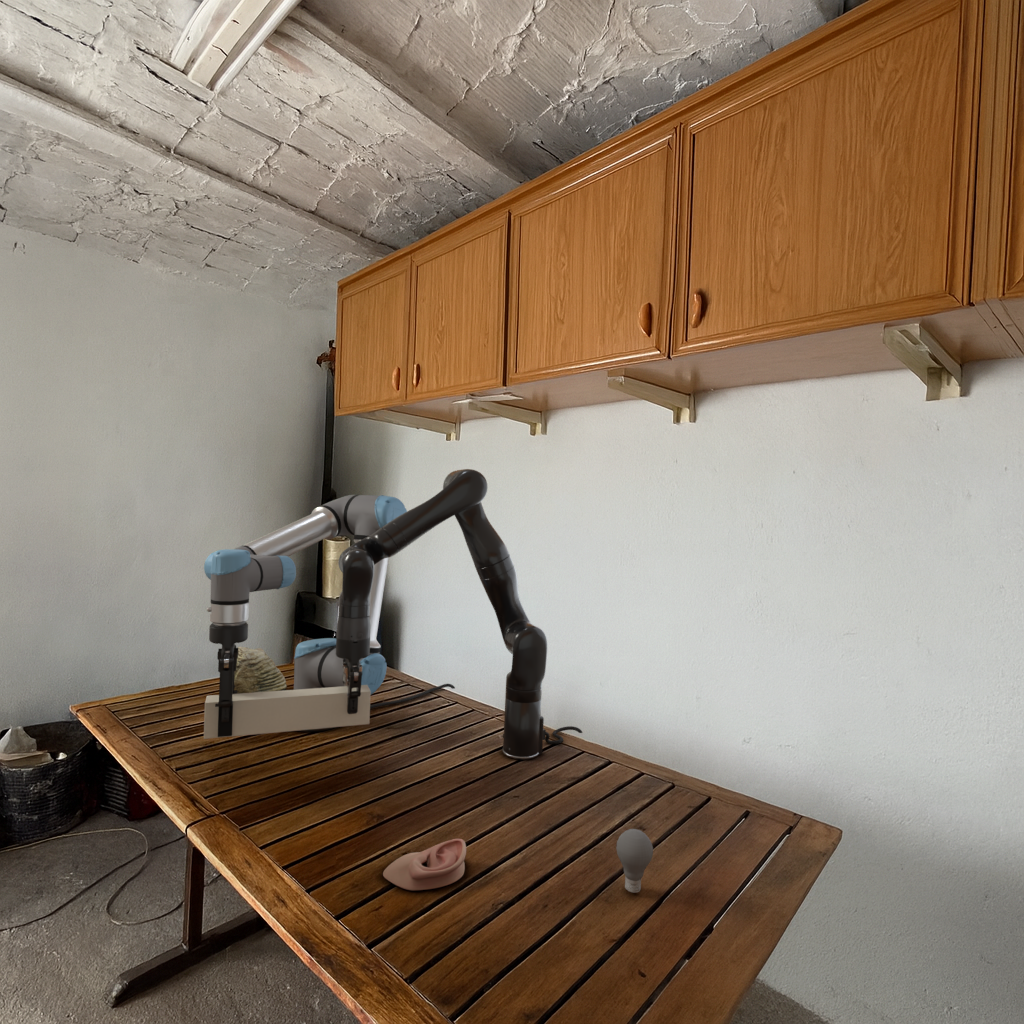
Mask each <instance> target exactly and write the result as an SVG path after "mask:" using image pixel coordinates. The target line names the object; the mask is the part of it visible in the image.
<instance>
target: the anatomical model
mask: <svg viewBox="0 0 1024 1024" xmlns="http://www.w3.org/2000/svg"><path fill="white" fill-rule="evenodd" d="M466 856H467V844H466V842H465V840H464V839H462V838H453V839H449V840H446V841H443V842H440V843H438V844H435V845H433V846H431V847H428V848H426V849H424V850H422V851H420V852H419V851H418V852H417V851H416V852H410V853H409V852H408V853H407V854H404V855H402V856H400V857H398V858H396V859H395V860H394V861H392V862H391V863H390V864H389V865H388V866H387V867H385V869H384V870H383V872H382V876H383V878H384V879H385V880H387V881H388V882H390V883H392V885H395V886H397V887H398V888H401V889H404V890H407V891H423V890H432V889H439V888H442V887H445V886H448V885H451V884H453V883H456V882H457V881H459V880H460V879H461V878H462V877H464V874H465V871H466V865H465V859H466Z"/></svg>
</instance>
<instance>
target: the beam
mask: <svg viewBox="0 0 1024 1024" xmlns="http://www.w3.org/2000/svg"><path fill="white" fill-rule="evenodd" d="M352 691H356V688H352ZM371 696H372V694H371V691H370V689H369V687H368V685H361V695H360V697H358V712H357V713H356V714H348V712H347V703H348V696H347V687H346V686H342V687H328V688H313V689H298V690H294V689H286V690H284V691H269V692H254V693H240V694H233V695H232V701H233V720H232V736H224V737H223V738H230V737H231V738H232V737H241V736H254V735H265V734H275V733H286V732H299V731H298V730H309V729H320V728H331V727H335V728H339V727H340V728H341V727H352V726H364V725H370V723H371V722H370V720H371V719H370V717H371V709H370V705H371ZM218 702H219V694H213V695H212V694H211V695H206V698H205V702H204V716H203V719H204V720H203V721H204V722H203V723H204V724H203V740H209V739H219V738H222V737H218V712H219V707H215V704H218Z"/></svg>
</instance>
